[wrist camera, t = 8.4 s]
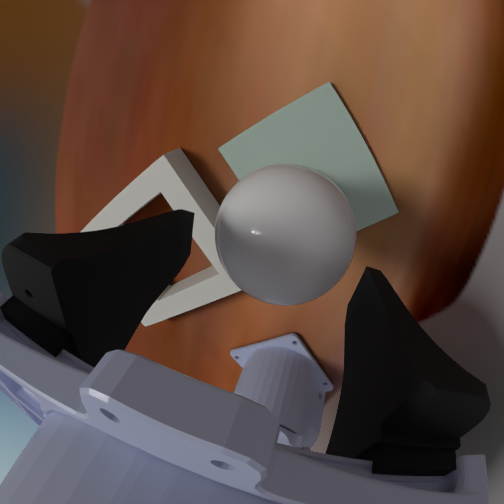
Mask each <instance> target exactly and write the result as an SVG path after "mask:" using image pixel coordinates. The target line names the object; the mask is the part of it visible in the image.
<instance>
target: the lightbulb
mask: <svg viewBox="0 0 504 504" xmlns="http://www.w3.org/2000/svg"><path fill="white" fill-rule="evenodd" d="M215 245H216V250H217V254H218V257H219V260H220V262H221V265H222V267H223V269H224V270H225V272H226V273H227V275H228V276H229V278H230V279H231V280H232V281H233V282H234V283H235V284H236V285H237V286H238V287H239V288H240V289H241V290H242V291H244V292H245V293H247V294H248V295H250V296H251V297H253V298H255V299H258V300H260V301H263V302H266V303H270V304H275V305H297V304H302V303H306V302H309V301H312V300H314V299H316V298H318V297H320V296H322V295H323V294H325V293H326V292H328V291H329V290H330V289H332V288H333V287H334V286H335V285H336V284H337V283H338V282H339V281H340V279H341V278H342V277H343V275H344V274H345V273H346V271H347V269H348V267H349V265H350V263H351V261H352V258H353V255H354V251H355V246H356V223H355V218H354V214H353V211H352V208H351V206H350V204H349V202H348V200H347V198H346V197H345V195H344V194H343V192H342V191H341V190H340V188H339V187H338V186H337V185H336V184H335V183H334V182H333V181H332V180H331V179H329V178H328V177H327V176H325V175H324V174H322V173H320V172H319V171H317V170H315V169H312V168H310V167H307V166H303V165H299V164H292V163H279V164H272V165H268V166H264V167H261V168H259V169H256V170H254V171H252V172H250V173H249V174H247V175H246V176H244V177H243V178H242V179H240V180H239V181H238V182H237V183H236V184H235V185H234V186H233V187H232V188H231V189H230V191H229V192H228V193H227V195H226V196H225V198H224V200H223V201H222V204H221V206H220V208H219V211H218V214H217V218H216V223H215Z"/></svg>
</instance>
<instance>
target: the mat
mask: <svg viewBox="0 0 504 504" xmlns="http://www.w3.org/2000/svg"><path fill="white" fill-rule="evenodd" d="M218 149H219V151H220V152H221V154H222V155H223V157H224V158H225V160H226V161H227V163H228V164H229V166H230V167H231V169H232V170H233V172H234V173H235V175H236V176H237V178H238V179H239V180H240V179H242V178H243V177H244V176H246V175H247V174H249V173H250V172H252V171H254V170H256V169H259V168H261V167H264V166H268V165H272V164H279V163H292V164H299V165H303V166H307V167H310V168H312V169H315V170H317V171H319V172H320V173H322V174H324V175H325V176H327V177H328V178H329V179H331V180H332V181H333V182H334V183H335V184H336V185H337V186H338V187H339V188H340V190H341V191H342V192H343V194H344V195H345V197H346V198H347V200H348V202H349V204H350V206H351V208H352V211H353V214H354V218H355V223H356V232H357V231H359V230H361V229H364V228H366V227H368V226H370V225H373V224H375V223H377V222H379V221H381V220H384V219H386V218H388V217H390V216H393V215H395V214H397V213H399V212H398V209H397V207H396V205H395V203H394V200H393V198H392V196H391V194H390V191H389V189H388V187H387V185H386V183H385V181H384V179H383V176H382V174H381V172H380V170H379V168H378V166H377V164H376V162H375V160H374V158H373V156H372V154H371V152H370V151H369V149H368V147H367V145H366V143H365V141H364V139H363V137H362V136H361V134H360V132H359V130H358V128H357V127H356V125H355V123H354V121H353V120H352V118H351V116H350V114H349V113H348V111H347V109H346V108H345V106H344V104H343V103H342V101H341V99H340V98H339V96H338V95H337V93H336V91H335V90H334V88H333V87H332V85H331V84H330V82H328V83H326V84H324V85H322V86H320V87H318V88H316V89H315V90H313V91H311V92H309V93H307V94H306V95H304V96H302V97H300V98H298V99H297V100H295V101H293V102H292V103H290V104H288V105H286V106H285V107H283V108H281V109H280V110H278V111H276V112H275V113H273V114H271V115H270V116H268V117H266V118H265V119H263V120H261V121H260V122H258V123H257V124H255V125H253V126H252V127H250V128H249V129H247V130H246V131H244V132H242V133H241V134H239V135H238V136H236V137H235V138H233V139H232V140H230V141H229V142H227V143H226V144H224V145H223V146H221V147H220V148H218Z"/></svg>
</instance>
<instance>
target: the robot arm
mask: <svg viewBox="0 0 504 504" xmlns="http://www.w3.org/2000/svg"><path fill="white" fill-rule="evenodd" d="M194 214H195V213H193V212H190V211H187V210H183V209H179V210H174V211H170V212H167V213H163V214H160V215H157V216H153V217H150V218H147V219H144V220H140V221H136V222H133V223H129V224H126V225H122V226H118V227H113V228H108V229H103V230H97V231H88V232H79V233H66V234H43V233H23V234H22V235H20V236H19V237H17V238H16V239H14V240H13V241H11V242H10V243H9V244H7V245H6V246H5V247H4V248H3V252H2V263H3V268H4V271H5V274H6V277H7V280H8V283H9V286H10V289H11V292H12V294H13V296H12V297H11V298H10V299H8V300H7V298H6V297H5V295H3V293H2V292H0V389H1V390H2V391H3V392H4V393H5V394H6V395H7V396H8V397H9V398H10V399H11V400H12V401H13V402H14V403H15V404H16V405H17V406H18V407H19V408H20V409H21V410H23V411H24V412H25V413H26V414H27V415H28V416H29V417H30V418H31V419H33V420H34V421H35V422H36V423H37V424H38V425H40V427H39V428H38V429H37V431H36V432H35V434H34V435H33V437H32V438H31V439H30V441H29V442H28V444H27V445H26V447H25V448H24V450H23V451H22V453H21V454H20V456H19V457H18V458H17V460H16V462H15V463H14V465H13V466H12V468H11V469H10V471H9V472H8V474H7V475H6V477H5V478H4V480H3V481H2V483H1V485H0V504H488V483H487V470H486V459H485V455H483V454H482V455H463V456H459V457H457V458H456V454H455V450H457V449H459V448H460V445H461V444H460V437H462V436H463V435H464V434H466V433H467V432H468V431H470V430H471V429H472V428H474V427H475V426H476V425H477V424H478V423H480V422H481V421H482V420H483V419H484V417H485V416H486V414H487V413H488V412H489V409H490V400H489V396H488V391H487V387H486V384H484V383H483V382H481V381H480V380H479V379H477V378H476V377H474V376H473V375H471V374H470V373H469V372H467V371H466V370H465V369H463V368H462V367H461V366H460V365H459V364H457V363H456V362H455V361H454V360H453V359H451V358H450V357H449V356H448V355H447V354H446V353H445V352H444V351H443V350H442V349H441V348H440V347H439V346H438V345H437V344H436V343H435V342H434V341H433V340H432V339H431V338H430V337H429V336H428V335H427V334H426V332H425V331H424V330H423V329H422V328H421V326H420V325H419V324H418V323H417V321H416V320H415V319H414V317H413V316H412V315H411V313H410V312H409V311H408V309H407V308H406V307H405V305H404V304H403V302H402V301H401V299H400V298H399V296H398V295H397V293H396V292H395V290H394V289H393V287H392V286H391V284H390V283H389V282H388V280H387V279H386V277H385V276H384V275H383V273H382V272H381V271H380V270H377V269H374V268H370V267H366V269H365V271H364V273H363V275H362V277H361V279H360V281H359V283H358V285H357V288H356V290H355V292H354V294H353V296H352V298H351V300H350V302H349V304H348V308H347V314H346V321H345V349H344V375H343V383H342V389H341V395H340V400H339V405H338V410H337V414H336V419H335V423H334V426H333V430H332V434H331V438H330V441H329V444H328V447H327V451H326V454H323V453H318V452H313V451H311V450H310V448H311V447H312V446H313V445H314V443H315V442H316V440H317V438H318V436H319V432H320V427H321V420H322V414H323V407H324V400H325V393H326V392H328V391H332V390H333V388H334V386H333V384H332V383H331V381H330V380H329V379H328V377H327V376H326V374H325V373H324V372H323V370H322V369H321V367H320V366H319V365H318V363H317V362H316V360H315V359H314V358H313V356H312V355H311V353H310V352H309V351H308V349H307V348H306V346H305V345H304V344H303V342H302V341H301V339H300V338H299V337H298V335H297V334H294V333H291V334H287V335H284V336H280V337H277V338H273V339H270V340H266V341H263V342H259V343H255V344H251V345H248V346H244V347H240V348H236V349H232V350H231V352H230V355H231V356H232V357H233V358H234V359H235V360H236V361H237V363H238V364H239V365H240V366H241V367H242V368H243V370H242V372H241V375H240V378H239V380H238V383H237V385H236V388H235V391H234V393H232V392H229V391H227V390H224V389H221V388H218V387H215V386H213V385H210V384H207V383H205V382H202V381H200V380H197V379H194V378H192V377H189V376H187V375H184V374H182V373H180V372H177V371H175V370H172V369H170V368H168V367H165V366H163V365H161V364H158V363H156V362H154V361H152V360H150V359H147V358H145V357H143V356H141V355H138V354H135V353H131V352H128V351H125V348H126V346H127V344H128V343H129V341H130V339H131V337H132V336H133V334H134V332H135V330H136V329H137V327H138V325H139V324H140V322H141V321H142V319H143V317H144V316H145V314H146V313H147V311H148V310H149V309H150V307H151V306H152V305H153V303H154V302H155V301H156V300H157V299H158V297H159V296H160V295H161V294H162V293H163V291H164V290H165V289H166V288H167V287H168V285H169V284H170V283H171V282H172V281H173V279H174V278H175V277H176V276H177V274H178V273H179V272H180V270H181V269H182V267H183V266H184V264H185V262H186V261H187V259H188V257H189V256H190V252H191V242H192V232H193V223H194ZM294 341H296V342H294Z"/></svg>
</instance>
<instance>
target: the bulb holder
mask: <svg viewBox="0 0 504 504" xmlns="http://www.w3.org/2000/svg"><path fill="white" fill-rule="evenodd" d="M161 193H162V195H163V196H164V197H165V199H166V200H167V202H168V203H169V205H170V206H171V207H172V209H173V210H179V209H183V210H187V211H190V212H193V213H195V214H194V223H193V232H192V237H193V238H194V240H195V241H196V243H197V244H198V245H199V247H200V248H201V250H202V251H203V252H204V254H205V255H206V256H207V258H208V259H209V261H210V262H211V263H212V265H213V266H211V267H208V268H206V269H204V270H202V271H200V272H198V273H196V274H194V275H192V276H190V277H188V278H186V279H183V280H181V281H179V282H177V283H175V284H173V285H171V286H170V284H169V285H168V287H167V288H166V289H165V290H164V291H163V293H162V294H161V295H160V296H159V297H158V299H157V300H156V301H155V302H154V303H153V305H152V306H151V307H150V309H149V310H148V311H147V313H146V314H145V316H144V317H143V319H142V321H141V322H142V324H143V325H144V326H145V327H146V326H148V325H151V324H154V323H157V322H159V321H162V320H165V319H168V318H170V317H173V316H176V315H178V314H181V313H184V312H186V311H189V310H192V309H194V308H197V307H200V306H202V305H205V304H207V303H210V302H213V301H215V300H218V299H220V298H223V297H226V296H228V295H231V294H233V293H236V292H238V291H241V289H240V288H239V287H238V286H237V285H236V284H235V283H234V282H233V281H232V280H231V279H230V278H229V276H228V275H227V273H226V272H225V270H224V269H223V267H222V265H221V262H220V260H219V257H218V254H217V250H216V245H215V223H216V218H217V214H218V211H219V208H220V205H219V204H218V202H217V201H216V199H215V198H214V196H213V195H212V193H211V192H210V191H209V189H208V188H207V186H206V185H205V183H204V182H203V180H202V179H201V177H200V176H199V174H198V173H197V171H196V170H195V169H194V167H193V166H192V164H191V163H190V161H189V160H188V158H187V157H186V155H185V154H184V152H183V151H182V149H181V148H178V149H176V150H173V151H171V152H169V153H166V154H164V155H163V156H161V157H160V158H159V159H158V160H157V161H155V162H154V163H153V164H152V165H151V166H150V167H148V168H147V169H146V170H145V171H144V172H143V173H141V174H140V175H139V176H138V177H137V178H136V179H135V180H134V181H132V182H131V183H130V184H129V185H128V186H127V187H126V188H125V189H124V190H123V191H121V192H120V193H119V194H118V195H117V196H116V197H115V198H114V199H113V200H112V201H111V202H110V203H109V204H108V205H107V206H106V207H105V208H104V209H103V210H102V211H101V212H100V213H99V214H98V215H97V216H96V217H95V218H94V219H93V220H92V221H91V222H90V223H89V224H88V225H87V226H86V227H85V228H84V229H83V230H82V231H81V232H88V231H97V230H103V229H108V228H113V227H118V226H122V225H125V224H124V222H125V221H127V220H128V219H129V218H130V217H132V216H133V215H134V214H135V213H137V212H138V211H139V210H140V209H142V208H143V207H144V206H145V205H147V204H148V203H149V202H150V201H152V200H153V199H154V198H156V197H157V196H158V195H159V194H161Z"/></svg>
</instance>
